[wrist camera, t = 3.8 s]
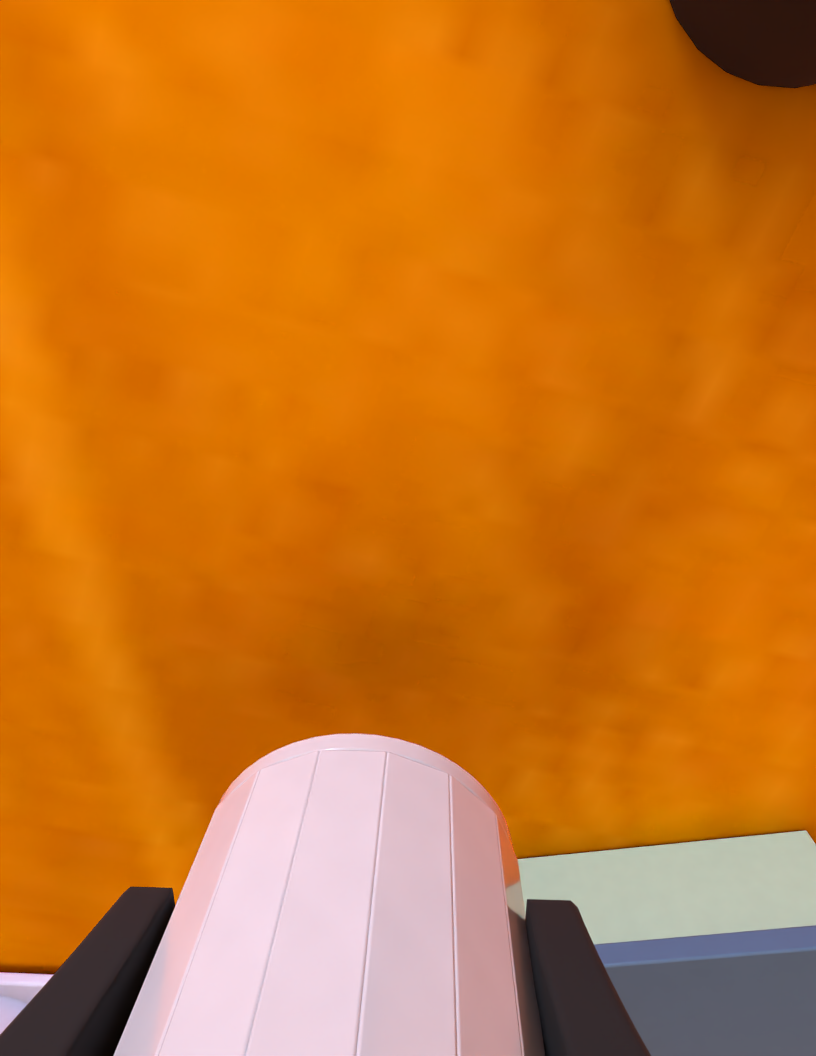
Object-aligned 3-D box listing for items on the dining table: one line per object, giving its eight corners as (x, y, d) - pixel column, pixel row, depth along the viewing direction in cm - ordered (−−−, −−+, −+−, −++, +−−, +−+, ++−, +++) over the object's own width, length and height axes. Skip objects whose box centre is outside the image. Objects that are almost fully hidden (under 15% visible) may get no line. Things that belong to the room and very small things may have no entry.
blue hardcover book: (376, 1118, 24) (366, 1257, 20) (302, 871, 20) (275, 993, 16) (806, 1090, 22) (872, 1235, 19) (818, 819, 18) (904, 941, 15)
